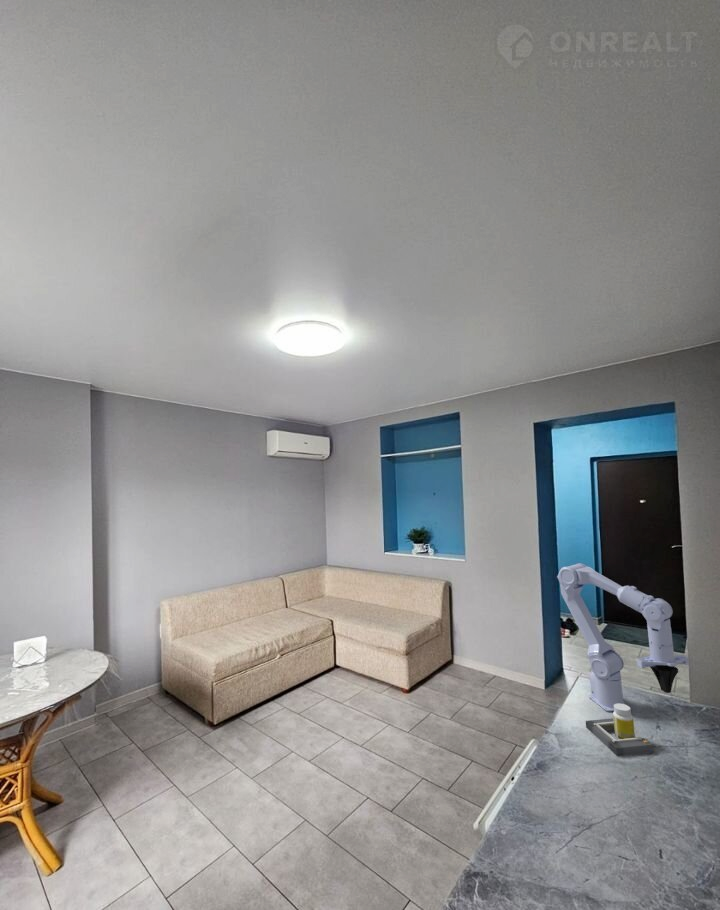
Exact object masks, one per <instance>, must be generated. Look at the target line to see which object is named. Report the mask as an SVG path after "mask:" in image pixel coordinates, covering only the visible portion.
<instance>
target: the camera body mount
mask: <svg viewBox="0 0 720 910" xmlns="http://www.w3.org/2000/svg"><path fill="white" fill-rule="evenodd" d="M585 728H586V729H587V730H588V731H590V733H592V734H593V736H595V737H596V738H597V739H598V740H599V741H600V742H602V744H603V745H605V746H606V747H607V749H609V750H610V752H612V753H613V754H614V755H616V756H625V755H634V754H635V755H636V754H646V753H653V752H654V751H653V749H654V748H653V744H652V743H651V742H649V741H648V740H647V739H645V738H644V737H640V736H639V737H635V738H628V739H617V738H614V737H613V736H612V735H611V734H610V733H609V732H615V729H614V719H613V718H604V719H603V718H602V719H594V720H593V719H592V720H585Z"/></svg>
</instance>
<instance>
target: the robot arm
mask: <svg viewBox="0 0 720 910" xmlns="http://www.w3.org/2000/svg"><path fill="white" fill-rule="evenodd" d="M556 578H557V580H558V582H559V585H560V594H561V597H562V599H563V600H564V602H565V604H566V605H567V608H568V610H569V612H570V613H571V615H572V617H573V619H574V621H575V624H576V625H577V628H578V629H579V631H580V633H581V635H582V637H583V638H584V641H585V642H586V645H587V646H588V649H587V655H586V656H587V658H588V660H589V666H590V669H591V672H590V674H589V686H590V694H591V695H588V698H589V699H591V700H592V701H593V702H594V703H596V704H597V705H598V706H600V707H601V708H602V709H603V710H605V711H606V712H614V704H617V703H620V704H625V705H627V704H626V703H625V702H624V694H623V684H622V674H621V671H622V670H623V669H624V665H625V662H624V659H623V658H622V656H621V655H620V654H619V653H618V652H617V651H616V650H615V649H614V647H613V646H612V644H610V643H608V641H605V638H604V636H603V635H602V633H601V631H600V630H599V629H600V628H599V627H598V626H597V624H596V622H595V620H594V618H593V616H592V614H591V612H590V610H589V608H588V607H587V604H586V603H585V601H584V600H583V598H582V596H581V592H582V590H583V587H584V586H585V585H594V586H595V587H598V588H600V589H602V590H604V591H606V592H608V593H610V594H612V595H614V596H616V597H617V600H618V601H619V603H622V604H624V605H625V606H627V607H630V608H631V609H633V610H635V611H636V612H637V613H640V614H642V616H643V617H644V619H645V620H646V623H647V624H646V627H647V636H648V644H649V645H648V646H649V654H650V655H648V656H645V657H641V658H636V666H637V667H639V668H641V669H646V668H650V669H651V671H652V672H653V674H654V676H655V678H656V680H657V682H658V685H659V688H660V690H661V691H662V692H663V693H666V694H671V693H672V688H673V683H674V681H675V678H676V677H677V675H678V673H679V668H678V667H677V665H686V666H689V665H690V659H689V657H687V656H685V655H683V654H682V655H681V654H680V655H679V654H678V655H675V653H674V652H675V651H674V644H673V643H674V642H673V634H672V627H671V619H670V618H671V617H672V616H673V613H674V611H673V608H672V606H671V604H669V603H668V602H667V601H666V600H664V599H663V598H654V596H653V595H648V594H646V593H644V592H642V591H640V590H639V589H638V588H637V587H636V586H634V585H624V586H622V585H621V584H619V583H617V582H615V581H613V580H612V579H609V578H608V577H606V576H604V575H602V574H601V573H600V572H597V571H596V570H595V569H593V568H592V567H590V566H588V565H586V564H584V563H579V562H578V563H575V564H572V565H569V566H563V567H561V568H560V570H559V572H558V574H557V576H556ZM627 706H629V705H627ZM630 709H632V708H631V707H630Z"/></svg>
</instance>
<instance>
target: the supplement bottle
mask: <svg viewBox="0 0 720 910" xmlns="http://www.w3.org/2000/svg"><path fill="white" fill-rule="evenodd" d="M625 704H626V703H625ZM625 704H620V703H617V704H614V711H612V712H613V713H612V717H613V719H614V729H615V731H614V736H615V739H616V740H617V739H628V738H636V734H635V725H634V722H635V721H634V717H633V715H632V711H631V709H632V708H631V706H629V705H628V706H627V704H626V705H625ZM630 708H631V709H630Z"/></svg>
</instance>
